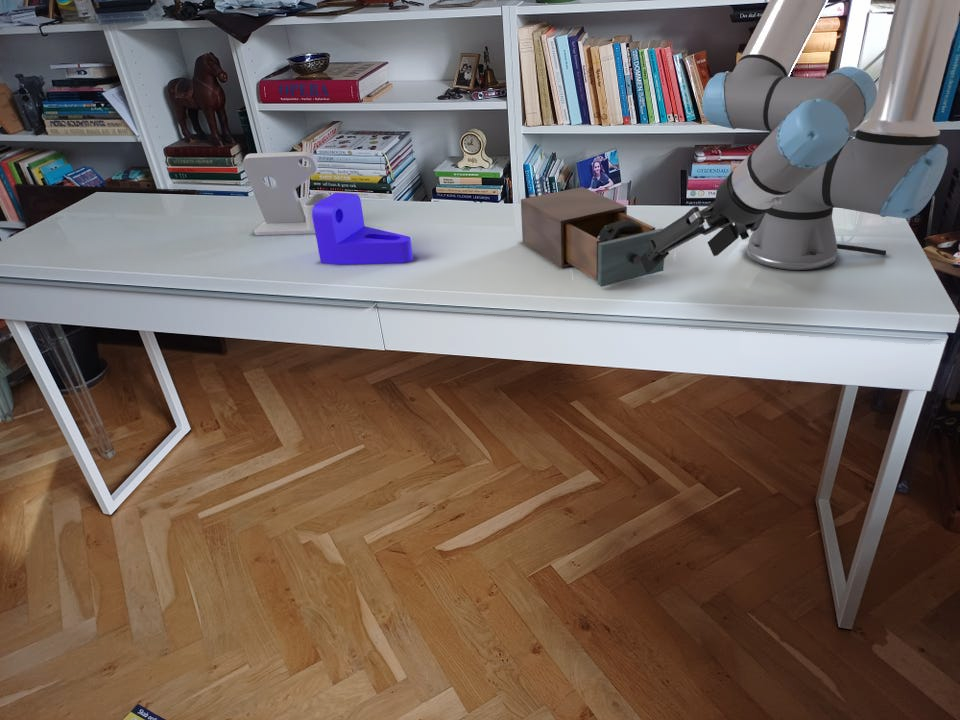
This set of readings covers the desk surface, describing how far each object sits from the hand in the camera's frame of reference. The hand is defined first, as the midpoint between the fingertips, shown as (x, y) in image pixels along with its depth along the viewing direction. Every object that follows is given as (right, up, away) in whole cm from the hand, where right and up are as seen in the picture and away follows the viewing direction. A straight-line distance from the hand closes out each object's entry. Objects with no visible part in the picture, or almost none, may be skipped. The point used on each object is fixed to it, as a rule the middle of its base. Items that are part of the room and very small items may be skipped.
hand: (679, 256), depth 123 cm
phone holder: (-76, +13, +48) cm, 91 cm away
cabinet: (-15, +5, +24) cm, 29 cm away
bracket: (-55, +4, +27) cm, 62 cm away
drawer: (-9, 0, +12) cm, 15 cm away
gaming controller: (-8, +3, +11) cm, 14 cm away
